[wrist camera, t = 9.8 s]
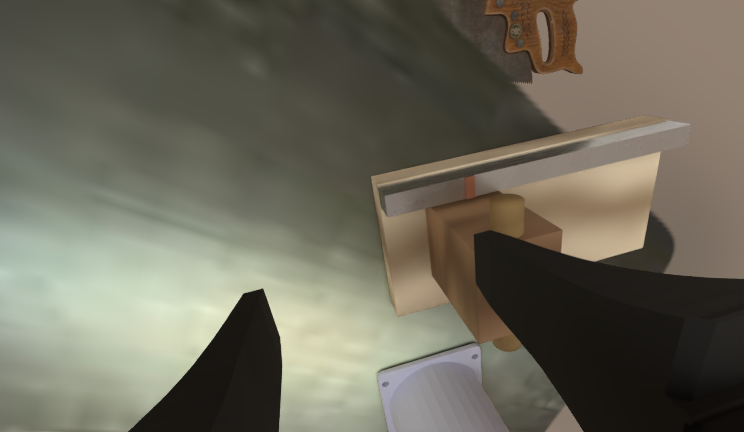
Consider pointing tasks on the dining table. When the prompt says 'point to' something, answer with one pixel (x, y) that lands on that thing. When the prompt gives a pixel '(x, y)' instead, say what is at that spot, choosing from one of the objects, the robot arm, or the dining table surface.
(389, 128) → the dining table surface
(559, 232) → the brown knobbed block
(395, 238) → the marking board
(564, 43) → the hand saw
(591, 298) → the robot arm
